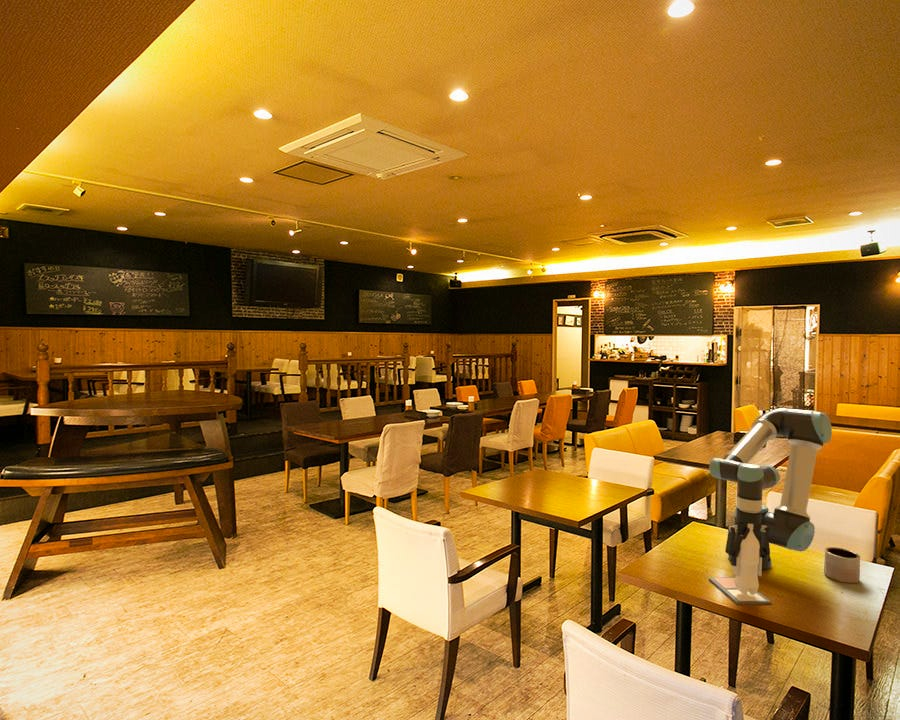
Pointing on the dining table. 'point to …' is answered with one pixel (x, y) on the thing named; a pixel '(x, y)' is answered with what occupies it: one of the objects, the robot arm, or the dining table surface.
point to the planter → (842, 565)
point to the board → (738, 592)
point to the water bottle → (748, 564)
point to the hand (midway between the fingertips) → (746, 574)
